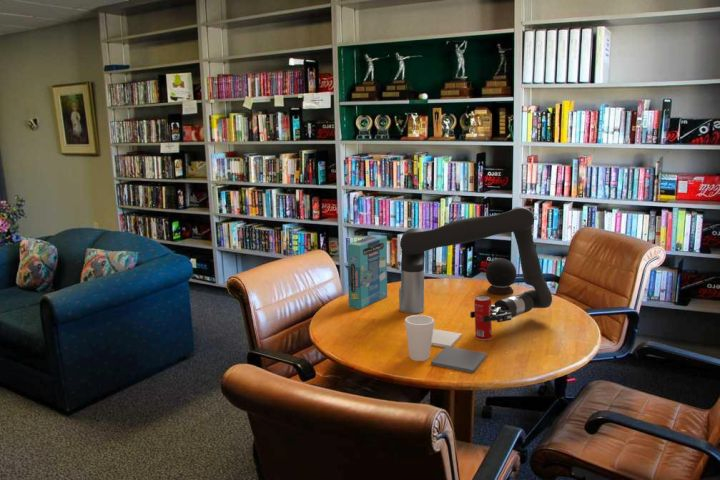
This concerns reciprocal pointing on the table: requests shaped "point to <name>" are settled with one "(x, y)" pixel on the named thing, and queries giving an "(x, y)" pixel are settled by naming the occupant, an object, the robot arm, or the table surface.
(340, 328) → the table surface
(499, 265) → the ball on round base
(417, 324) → the foam cup
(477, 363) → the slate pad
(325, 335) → the table surface
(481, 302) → the beverage can
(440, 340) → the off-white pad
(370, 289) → the game box
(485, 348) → the table surface
